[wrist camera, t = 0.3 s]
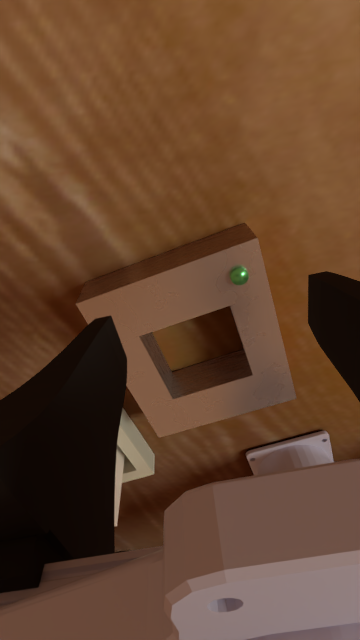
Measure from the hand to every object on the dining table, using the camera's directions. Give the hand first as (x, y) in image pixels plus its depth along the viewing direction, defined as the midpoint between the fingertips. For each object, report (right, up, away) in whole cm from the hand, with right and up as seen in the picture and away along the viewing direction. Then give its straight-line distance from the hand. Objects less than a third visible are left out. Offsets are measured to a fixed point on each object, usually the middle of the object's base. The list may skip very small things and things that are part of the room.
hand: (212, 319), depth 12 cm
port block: (0, -1, +12) cm, 12 cm away
